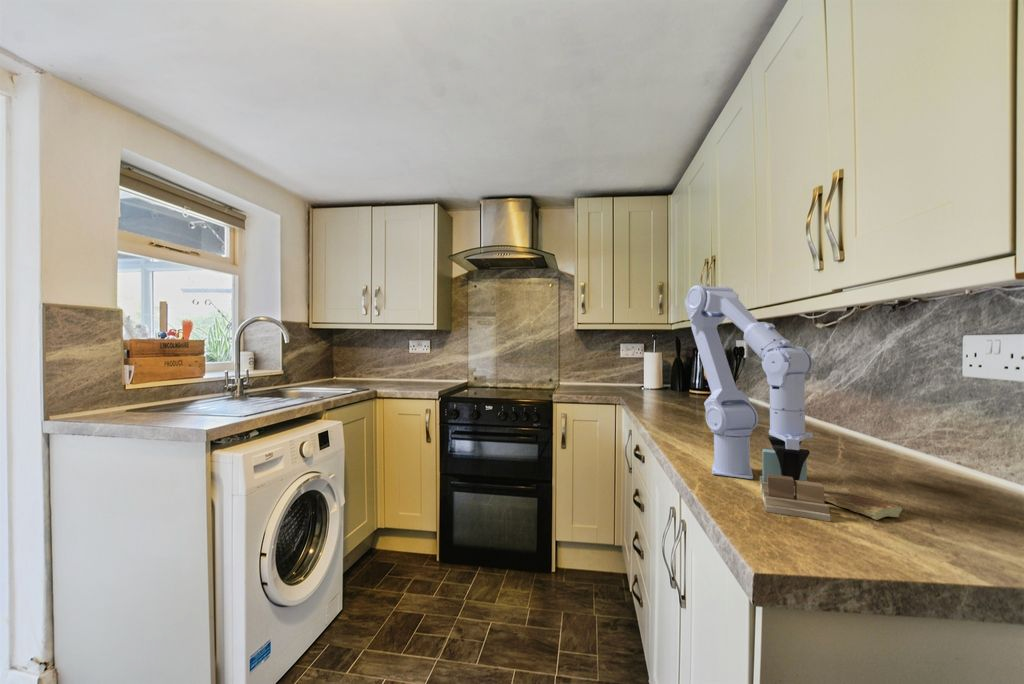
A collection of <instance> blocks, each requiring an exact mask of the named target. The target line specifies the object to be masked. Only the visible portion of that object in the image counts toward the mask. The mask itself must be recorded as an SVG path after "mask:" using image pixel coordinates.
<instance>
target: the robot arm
mask: <svg viewBox="0 0 1024 684" xmlns="http://www.w3.org/2000/svg"><path fill="white" fill-rule="evenodd" d="M684 305H685V309H686V311H687V315H688V319H689V321H690V326H691V332H692V334H693V338H694V341H695V344H696V347H697V350H698V355H699V357H700V360H701V364H702V367H703V370H704V374H705V377H706V380H707V383H708V388H709V390H710V395H709V396H708V398H706V399H705V401H704V402H703V405H704V409H705V422H706V425H707V427H708V428H709V430H710V432H711V433H713V462H712V468H711V474H712V475H717V476H723V477H732V478H740V479H747V480H748V479H749V480H753V479H754V475H753V470H752V466H751V446H750V445H751V440H750V438H751V436H750V435H753V431H754V430H755V429H756V428H757V426H758V425H759V424H758V423H759V414H758V412H757V410H756V408H755V407H754V406H753V404H752V403H751V402H750V399H749V396H748V395H746V394H745V393H743V392H742V391H741V390H739V389H738V388H737V385H736V382H735V379H734V377H733V374H732V371H731V367H730V365H729V361H728V358H727V355H726V353H725V349H724V347H723V343H722V341H721V338H720V335H719V332H718V331H719V330H718V325H720V324H722V323H723V322H724V321H725V319H726V318H727V319H728V320H729V321H730V322H732V323H733V324H734V325H735V326H736V327H737V328H738V329H740V331H741V332H743V341H744V342H745V344H747V345H748V346H749V348H751V350H752V351H753V352H754V353H755V354H756V355H757V356H758V358H760V359H761V360H762V361H761V366H762V369H763V372H764V373H765V375H766V382H767V384H768V385H769V429H768V435H770V436H768V437H767V438H768V440H769V442H770V444H771V448H772V450H774V451H775V453H776V455H777V457H778V460H779V464H780V469H781V475H782V476H788V477H792V478H793V480H794V486H795V480H798V481H799V479H800V474H801V470H802V467H803V464H804V462H805V460H806V458H807V459H808V457H809V455H810V453H811V452H810V450H809V449H803V448H800V445H801V444H802V441H803V440H805V439H810V438H811V439H813V438H814V435H813V433H812V432H807V431H806V397H805V396H806V395H805V393H806V387H805V385H806V382H805V377H806V375H808V374H809V373H810V371H811V370H812V367H813V359H812V356H811V355H810V353H809V352H808V351H807V349H806V348H805V347H802V346H796V345H793V344H792V343H791V341H790V340H789V339H787V338H784V337H783V336H782V335H781V334H780V333H779V332H778V331H777V330H776V329H775V328H776V326H775V324H773V323H771V322H770V323H769V322H766V321H758V319H756V317H754V315H753V314H752V313H751V312H750V311H749V310H748V309H747V307H746V306H745V305H744V304H743V303H742V302H741V301H740V300H739V294H738V292H735V290H733V288H732V287H730V286H706V285H703V286H702V285H698V284H696V285H694V286H692V287H691V288H690V289H689V290H688V293H687V294H686V298H685V300H684Z"/></svg>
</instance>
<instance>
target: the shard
mask: <svg viewBox="0 0 1024 684" xmlns="http://www.w3.org/2000/svg"><path fill="white" fill-rule="evenodd" d="M824 499H825V502H828V503H830V504H833V505H835V506H837V507H839V508H843V509H847V510H850V511H852V512H855V513H858V514H861V515H864V516H867V517H869V518H872V519H873V520H876V521H878V520H880V519H882V518H883V519H884V518H885V517H889V518H899V517H900V514H901V512H902V511H903V508H902V506H899V505H896V504H892V503H888V502H886V501H882V500H880V499H875V498H869V497H863V496H858V495H853V494H852V495H851V494H846V493H839V492H831V491H824Z"/></svg>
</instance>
